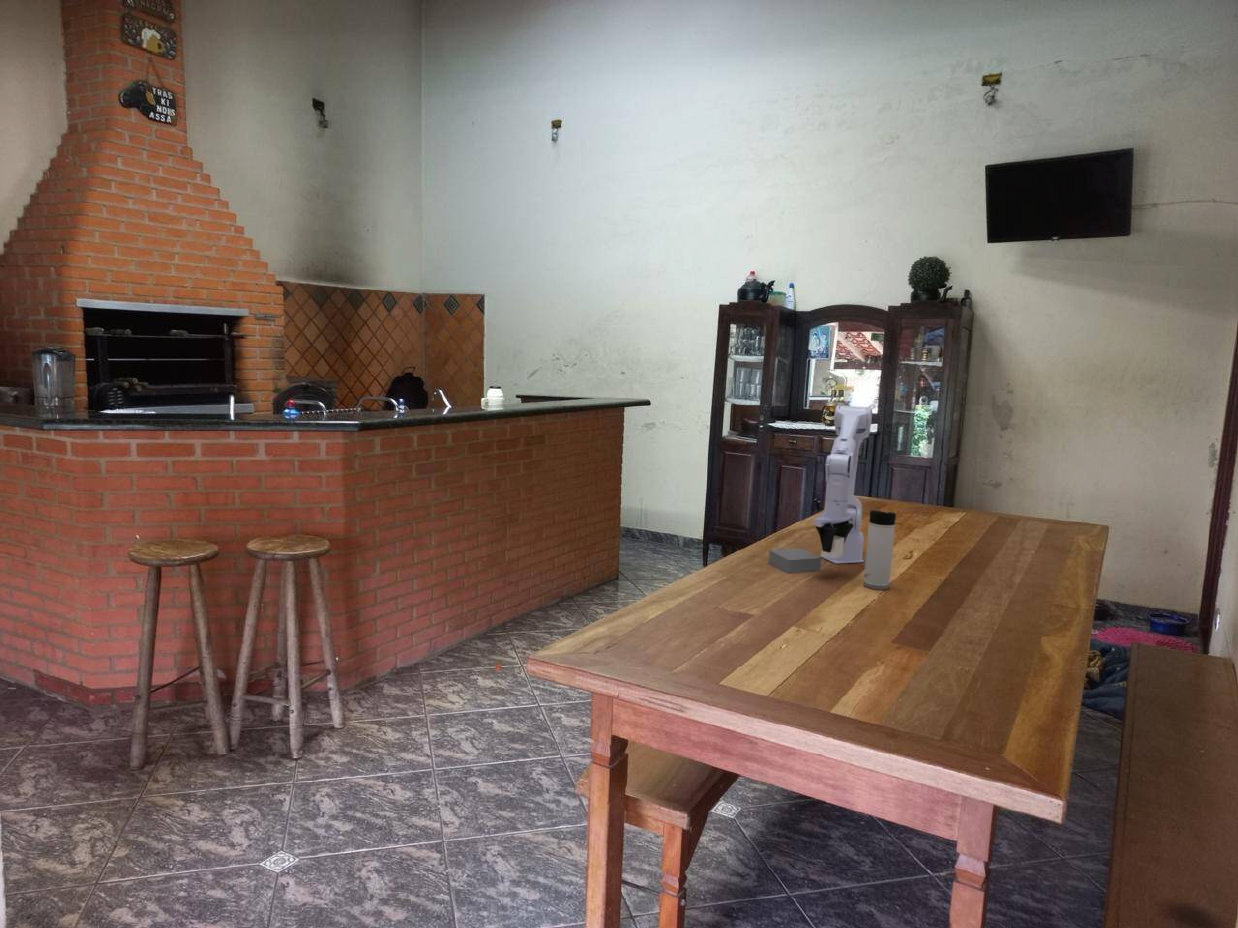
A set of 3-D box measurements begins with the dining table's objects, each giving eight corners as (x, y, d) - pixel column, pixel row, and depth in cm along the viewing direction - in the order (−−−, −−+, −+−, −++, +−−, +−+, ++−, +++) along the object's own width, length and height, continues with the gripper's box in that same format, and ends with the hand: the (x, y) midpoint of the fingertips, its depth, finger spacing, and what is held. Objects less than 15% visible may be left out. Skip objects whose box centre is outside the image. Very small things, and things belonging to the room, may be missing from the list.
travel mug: (860, 587, 196) (867, 510, 193) (865, 581, 202) (872, 506, 199) (886, 592, 193) (894, 513, 190) (890, 585, 199) (898, 509, 196)
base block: (799, 561, 219) (800, 548, 218) (820, 572, 210) (821, 557, 209) (768, 564, 216) (769, 550, 215) (788, 574, 206) (789, 560, 206)
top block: (842, 556, 204) (844, 537, 203) (834, 558, 201) (836, 539, 200) (829, 552, 207) (830, 534, 206) (821, 555, 204) (822, 536, 203)
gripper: (841, 494, 209) (837, 543, 211) (806, 499, 200) (802, 550, 202) (863, 499, 203) (859, 549, 206) (828, 504, 195) (824, 556, 197)
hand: (832, 550), depth 204 cm, fingers closed on top block, 4 cm apart
